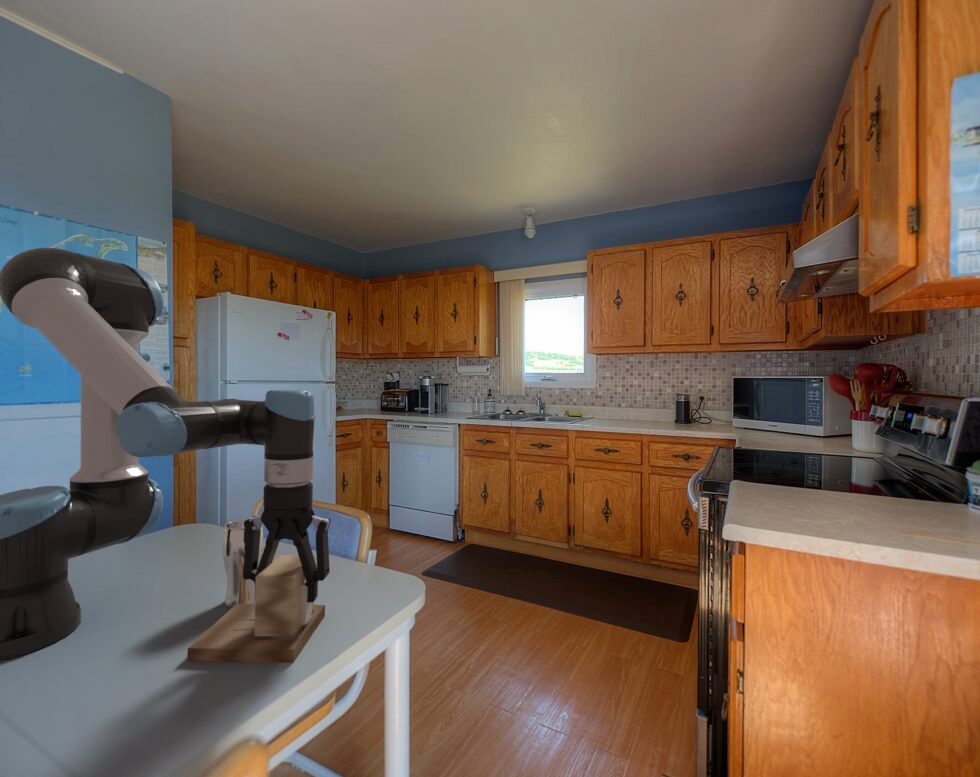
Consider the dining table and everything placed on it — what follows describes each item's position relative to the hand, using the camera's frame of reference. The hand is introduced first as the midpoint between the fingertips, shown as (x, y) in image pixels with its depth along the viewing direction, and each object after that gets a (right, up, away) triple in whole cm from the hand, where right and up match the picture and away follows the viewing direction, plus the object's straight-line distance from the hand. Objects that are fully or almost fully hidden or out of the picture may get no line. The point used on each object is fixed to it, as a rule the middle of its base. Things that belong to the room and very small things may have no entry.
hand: (285, 619), depth 77 cm
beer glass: (-14, -3, +12) cm, 19 cm away
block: (0, -1, 0) cm, 1 cm away
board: (-4, -3, 0) cm, 5 cm away
